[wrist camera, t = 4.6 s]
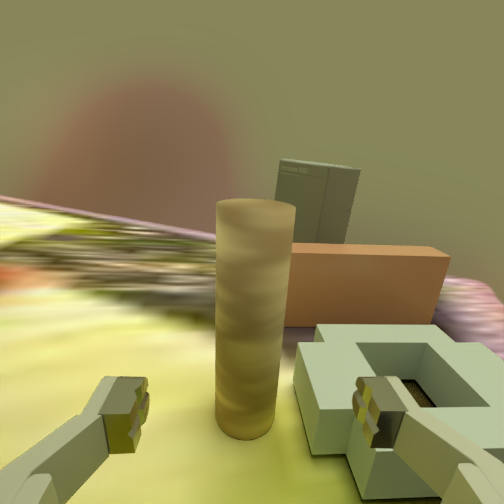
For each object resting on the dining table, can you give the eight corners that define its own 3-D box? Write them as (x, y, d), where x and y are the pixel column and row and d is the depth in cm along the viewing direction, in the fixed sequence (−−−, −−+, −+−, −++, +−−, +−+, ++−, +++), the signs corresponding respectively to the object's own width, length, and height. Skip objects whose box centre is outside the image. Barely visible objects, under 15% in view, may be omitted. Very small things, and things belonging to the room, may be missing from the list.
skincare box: (263, 272, 40) (271, 158, 35) (297, 262, 45) (309, 159, 39) (307, 296, 34) (325, 162, 29) (342, 282, 38) (363, 163, 33)
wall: (428, 327, 29) (451, 256, 26) (258, 326, 28) (263, 252, 25) (411, 312, 32) (430, 246, 29) (256, 310, 31) (260, 241, 28)
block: (579, 490, 15) (611, 444, 14) (323, 501, 14) (334, 452, 13) (445, 358, 24) (457, 325, 23) (287, 359, 23) (291, 323, 22)
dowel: (203, 421, 18) (199, 205, 13) (234, 379, 21) (240, 196, 16) (259, 452, 16) (278, 217, 11) (283, 401, 20) (305, 204, 15)
